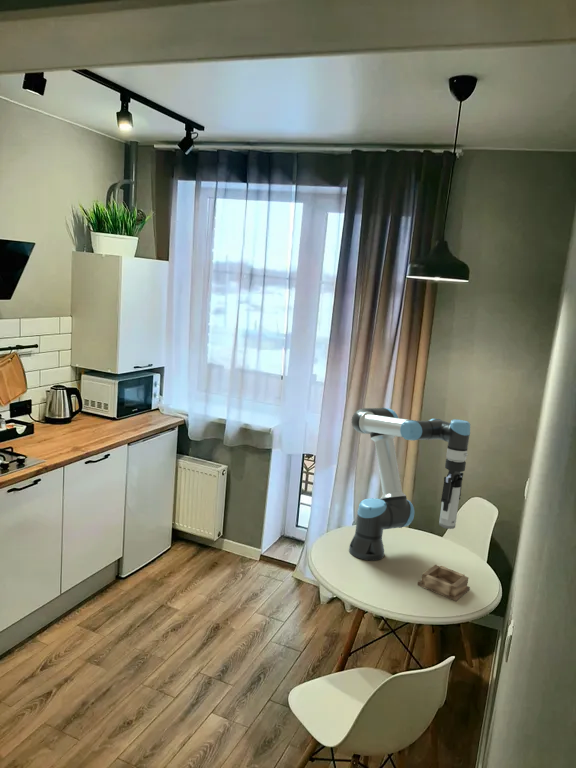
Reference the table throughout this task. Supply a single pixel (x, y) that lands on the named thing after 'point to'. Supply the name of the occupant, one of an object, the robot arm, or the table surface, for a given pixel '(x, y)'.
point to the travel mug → (452, 507)
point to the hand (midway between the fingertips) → (448, 516)
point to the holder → (445, 582)
